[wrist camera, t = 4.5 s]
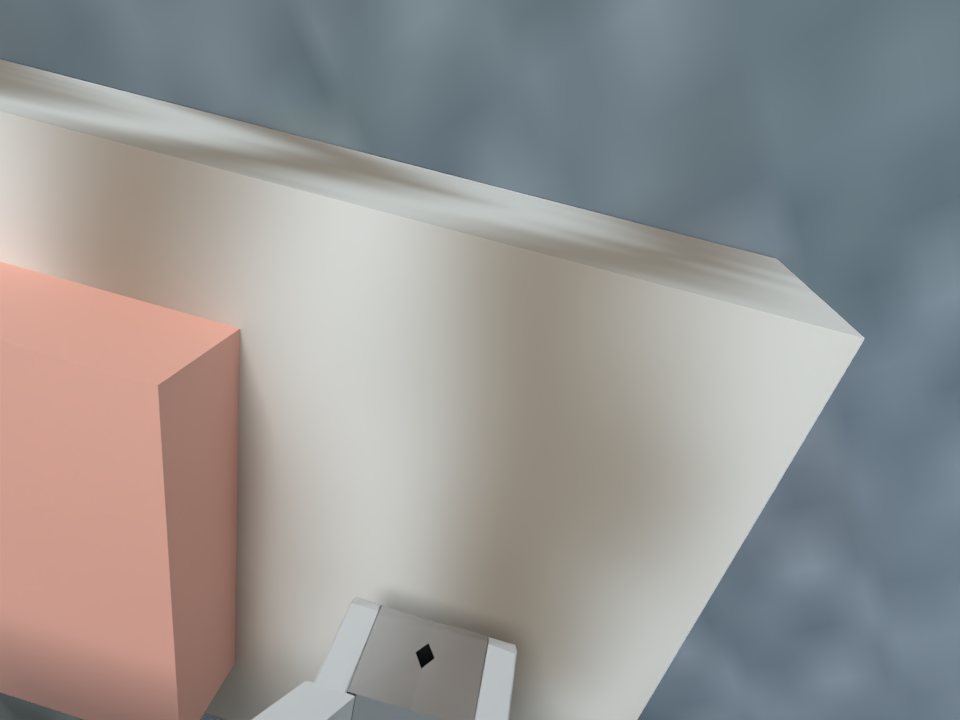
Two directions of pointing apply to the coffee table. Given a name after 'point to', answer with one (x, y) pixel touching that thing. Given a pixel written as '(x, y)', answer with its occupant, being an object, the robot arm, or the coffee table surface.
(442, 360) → the striped beige block
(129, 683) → the salmon pink eraser
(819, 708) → the coffee table surface
